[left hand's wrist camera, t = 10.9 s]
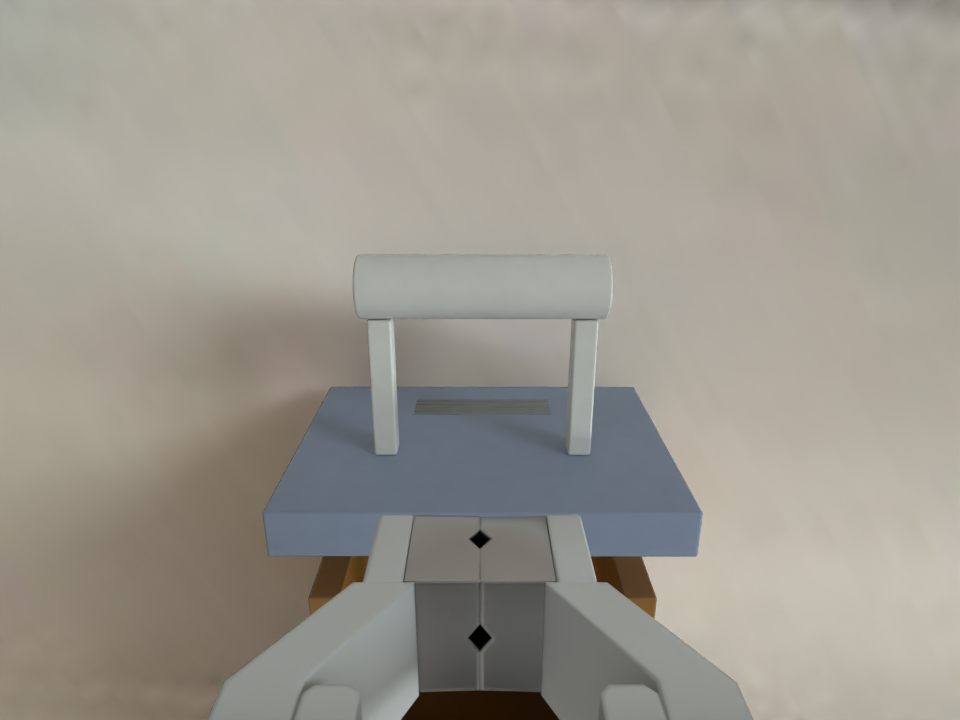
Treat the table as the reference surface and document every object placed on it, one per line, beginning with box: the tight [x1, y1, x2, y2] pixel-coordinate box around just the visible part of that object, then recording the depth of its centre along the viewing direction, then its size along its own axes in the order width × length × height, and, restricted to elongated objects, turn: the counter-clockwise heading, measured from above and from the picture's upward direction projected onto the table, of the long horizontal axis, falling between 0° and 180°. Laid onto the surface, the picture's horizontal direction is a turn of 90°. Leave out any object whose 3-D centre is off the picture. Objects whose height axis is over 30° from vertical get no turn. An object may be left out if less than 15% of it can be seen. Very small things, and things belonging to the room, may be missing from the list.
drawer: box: [263, 255, 703, 720], centre depth 21 cm, size 22×10×8 cm, turn 0°
